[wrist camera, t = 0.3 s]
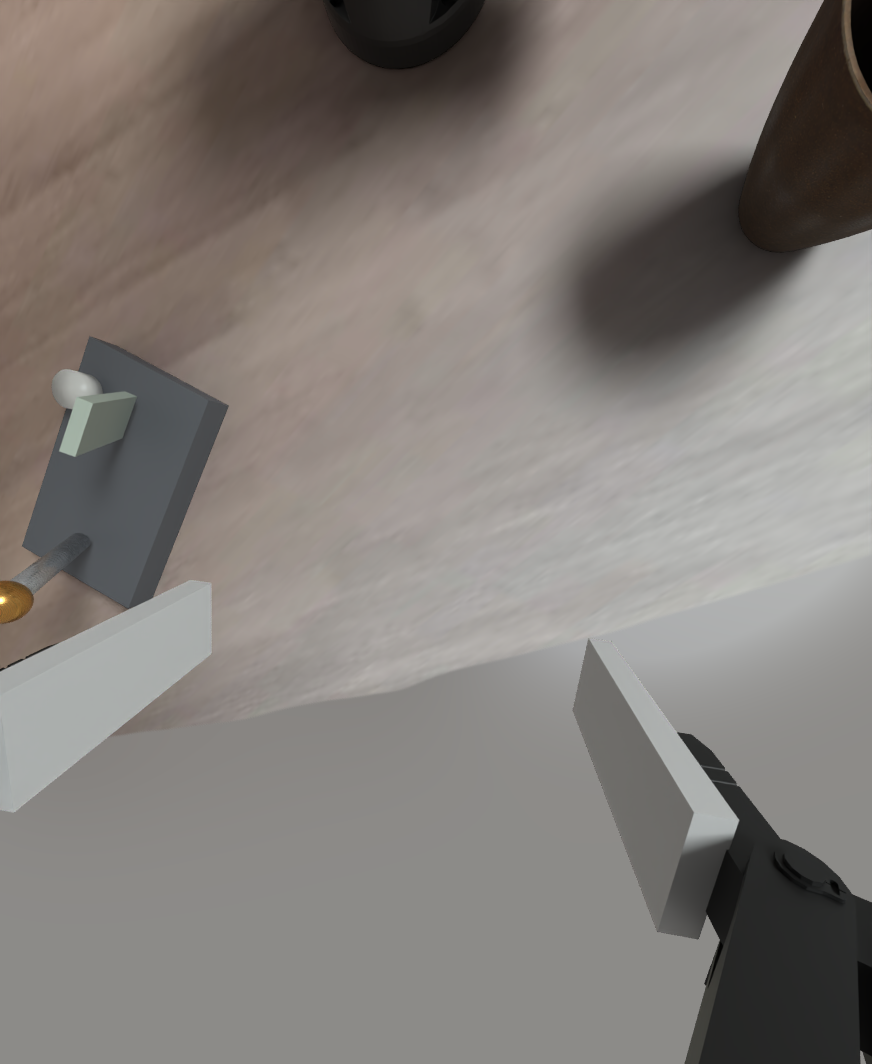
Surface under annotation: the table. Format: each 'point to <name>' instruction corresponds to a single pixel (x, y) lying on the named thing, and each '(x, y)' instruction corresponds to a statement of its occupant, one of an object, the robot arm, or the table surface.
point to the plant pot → (817, 139)
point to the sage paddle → (97, 421)
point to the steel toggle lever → (37, 577)
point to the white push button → (73, 387)
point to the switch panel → (127, 478)
